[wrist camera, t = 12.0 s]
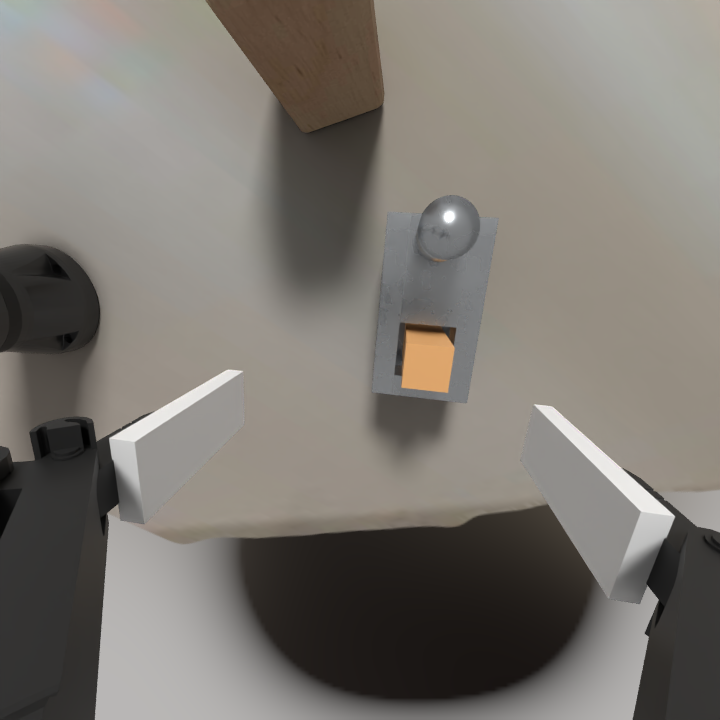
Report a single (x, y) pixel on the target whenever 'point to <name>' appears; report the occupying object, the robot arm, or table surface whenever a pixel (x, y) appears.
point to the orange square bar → (426, 358)
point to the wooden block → (311, 54)
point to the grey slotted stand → (433, 289)
